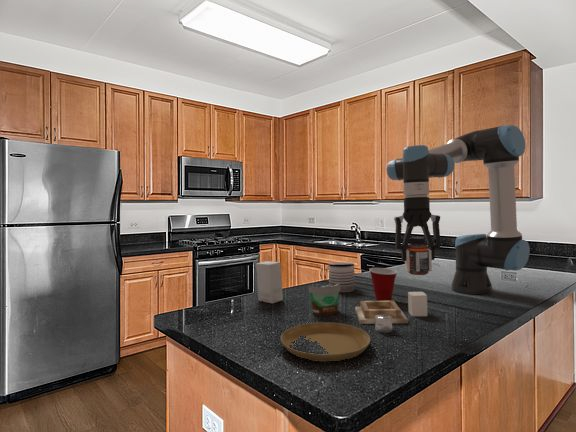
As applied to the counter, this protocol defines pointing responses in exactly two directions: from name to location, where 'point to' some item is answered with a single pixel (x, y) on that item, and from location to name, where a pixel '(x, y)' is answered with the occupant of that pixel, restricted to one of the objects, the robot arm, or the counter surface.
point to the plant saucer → (328, 340)
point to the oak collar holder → (379, 311)
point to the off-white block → (417, 303)
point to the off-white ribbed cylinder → (342, 276)
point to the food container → (325, 299)
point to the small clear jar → (383, 323)
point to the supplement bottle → (418, 256)
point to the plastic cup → (383, 283)
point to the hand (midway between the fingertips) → (418, 270)
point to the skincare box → (269, 281)
